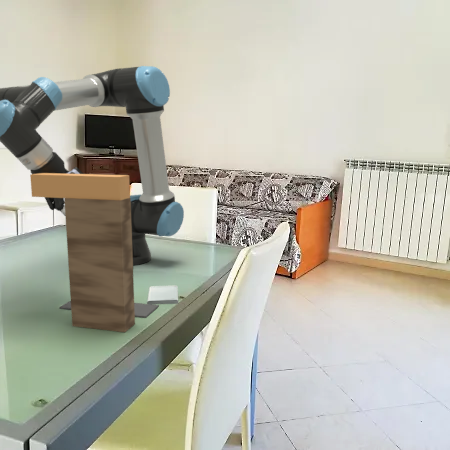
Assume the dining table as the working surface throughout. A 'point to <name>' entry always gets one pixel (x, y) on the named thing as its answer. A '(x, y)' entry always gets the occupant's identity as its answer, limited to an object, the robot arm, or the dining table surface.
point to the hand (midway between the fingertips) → (97, 220)
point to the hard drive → (163, 295)
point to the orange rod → (80, 186)
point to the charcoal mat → (139, 309)
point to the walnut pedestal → (100, 263)
